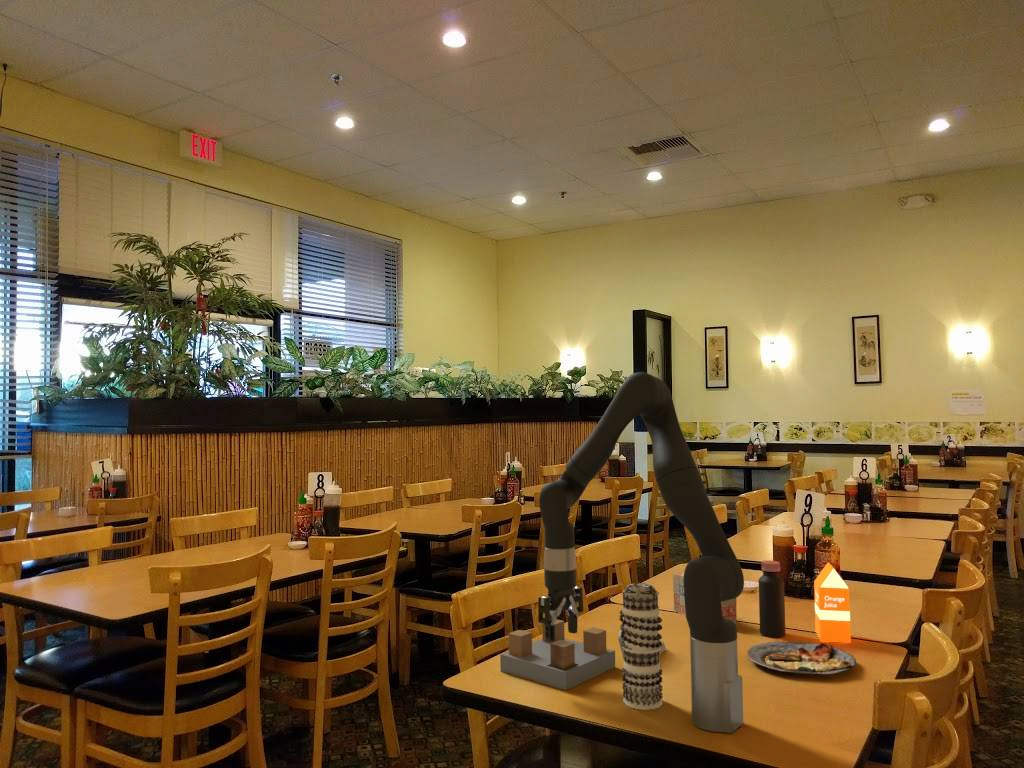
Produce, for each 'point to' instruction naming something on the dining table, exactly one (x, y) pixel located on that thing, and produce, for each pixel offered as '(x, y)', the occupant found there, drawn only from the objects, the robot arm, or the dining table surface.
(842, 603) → the orange juice
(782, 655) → the food plate
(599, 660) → the stool seat
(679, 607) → the printed cardboard box
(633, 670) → the decorative candle
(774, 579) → the bottle
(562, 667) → the stool leg
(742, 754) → the dining table surface
